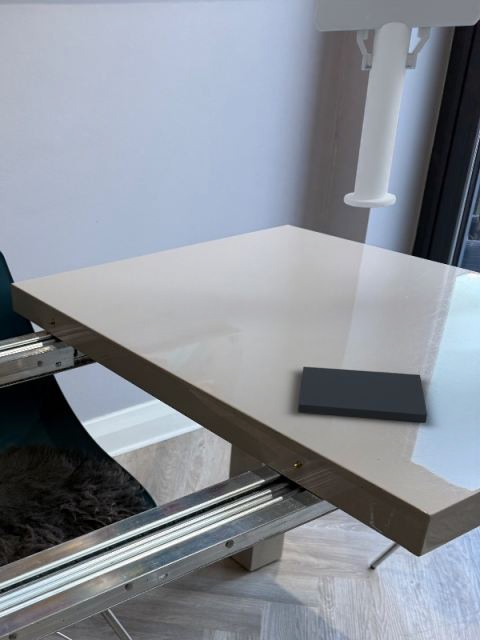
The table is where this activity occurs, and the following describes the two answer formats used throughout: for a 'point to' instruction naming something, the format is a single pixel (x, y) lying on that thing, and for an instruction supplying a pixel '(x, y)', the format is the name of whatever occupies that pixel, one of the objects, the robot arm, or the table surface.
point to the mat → (362, 394)
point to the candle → (381, 117)
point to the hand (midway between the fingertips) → (388, 69)
